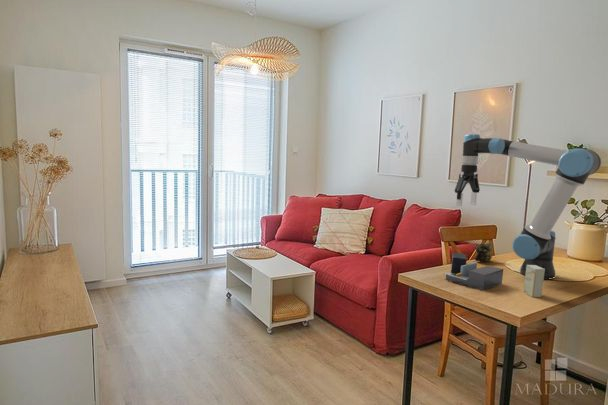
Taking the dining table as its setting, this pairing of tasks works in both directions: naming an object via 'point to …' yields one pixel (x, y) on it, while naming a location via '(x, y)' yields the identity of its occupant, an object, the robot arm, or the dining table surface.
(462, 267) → the blue-grey flat panel
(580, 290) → the dining table surface
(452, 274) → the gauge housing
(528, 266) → the skincare box
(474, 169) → the robot arm
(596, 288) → the dining table surface
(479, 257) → the seashell
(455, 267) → the small box
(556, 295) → the dining table surface
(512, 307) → the dining table surface
